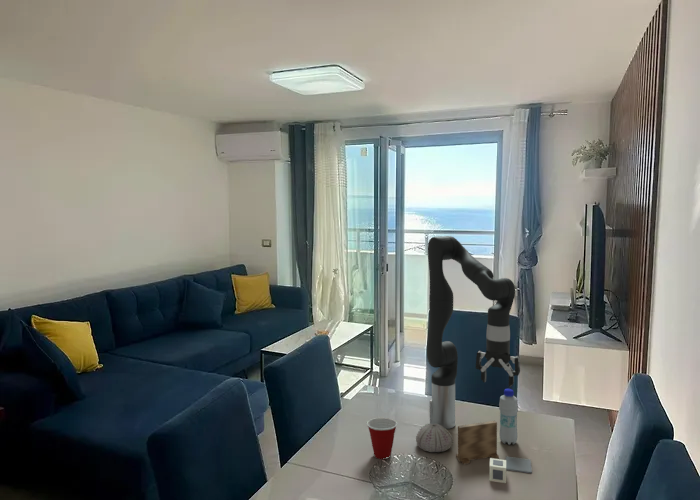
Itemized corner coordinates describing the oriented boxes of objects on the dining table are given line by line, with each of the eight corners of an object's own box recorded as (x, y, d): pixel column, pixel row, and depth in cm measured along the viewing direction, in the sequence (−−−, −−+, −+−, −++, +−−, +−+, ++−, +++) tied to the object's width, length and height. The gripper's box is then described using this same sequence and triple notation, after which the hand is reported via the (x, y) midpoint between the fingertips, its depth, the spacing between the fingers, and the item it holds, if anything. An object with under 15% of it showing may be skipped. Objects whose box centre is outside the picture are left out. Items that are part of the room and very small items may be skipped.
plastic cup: (398, 448, 173) (397, 415, 172) (397, 463, 162) (397, 429, 161) (368, 446, 174) (367, 415, 173) (365, 462, 163) (365, 428, 162)
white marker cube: (489, 472, 156) (490, 457, 155) (506, 474, 154) (506, 459, 154) (489, 481, 151) (489, 465, 150) (506, 483, 149) (506, 468, 149)
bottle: (519, 447, 172) (519, 393, 170) (499, 445, 173) (500, 392, 171) (516, 438, 178) (517, 386, 176) (497, 436, 179) (498, 385, 178)
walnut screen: (462, 464, 161) (462, 430, 160) (455, 457, 166) (455, 423, 165) (499, 458, 164) (499, 424, 163) (491, 451, 169) (491, 418, 168)
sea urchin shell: (409, 449, 172) (409, 428, 171) (425, 434, 183) (425, 414, 182) (443, 459, 164) (443, 437, 164) (458, 443, 176) (458, 422, 175)
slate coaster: (505, 469, 157) (505, 468, 157) (505, 457, 165) (505, 456, 164) (531, 473, 154) (531, 471, 154) (530, 460, 162) (530, 459, 162)
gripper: (474, 337, 161) (473, 384, 163) (518, 343, 154) (517, 391, 156) (479, 332, 167) (478, 376, 169) (522, 337, 161) (521, 383, 162)
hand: (497, 383), depth 162 cm, fingers open, 8 cm apart
